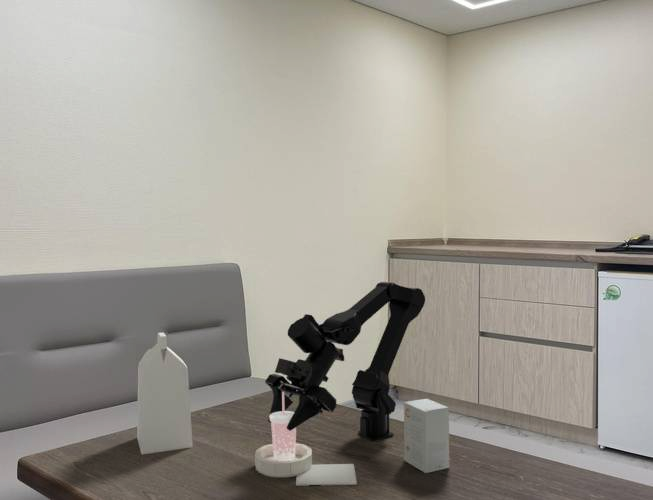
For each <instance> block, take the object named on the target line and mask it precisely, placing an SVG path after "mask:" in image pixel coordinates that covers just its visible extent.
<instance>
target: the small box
mask: <svg viewBox="0 0 653 500" xmlns="http://www.w3.org/2000/svg"><path fill="white" fill-rule="evenodd" d="M403 423H404V424H403V427H404V428H403V429H404V431H403V437H404V439H403V440H404V441H403V443H404V445H403V447H404V448H403V449H404V452H403V454H404V462H406V463H407V464H409V465H411V466H413V467H414V468H416V469H418V470H420V471H421V472H422V473H424V474H428V473H433V472H437V471H442V470H445V469H449V468H450V410H449V407H448V406H445V405H444V404H440V403H439V402H437V401H433V400H432V399H429V398H423V399H416V400H415V399H414V400H407V401H404V402H403Z"/></svg>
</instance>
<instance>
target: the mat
mask: <svg viewBox="0 0 653 500" xmlns="http://www.w3.org/2000/svg"><path fill="white" fill-rule="evenodd" d="M295 477H296V478H295V479H296V480H295V486H297V487H302V486H303V487H310V486H309V485H321V486H356V485H358V484H357V477H356V470H355V465H354V463H332V464H329V463H328V464H326V463H325V464H320V463H319V464H312V466H311V468H310V469H309V470H307V471H305V472H303V473H300V474H297V476H295Z"/></svg>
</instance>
